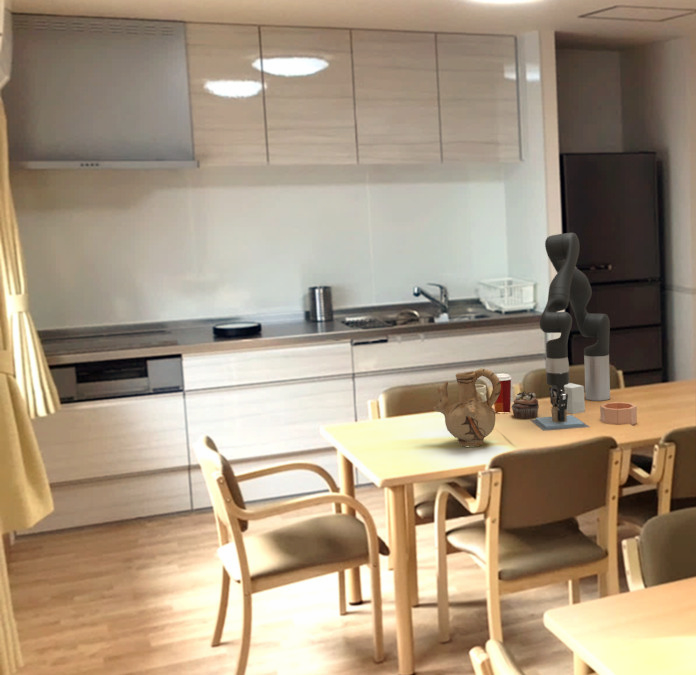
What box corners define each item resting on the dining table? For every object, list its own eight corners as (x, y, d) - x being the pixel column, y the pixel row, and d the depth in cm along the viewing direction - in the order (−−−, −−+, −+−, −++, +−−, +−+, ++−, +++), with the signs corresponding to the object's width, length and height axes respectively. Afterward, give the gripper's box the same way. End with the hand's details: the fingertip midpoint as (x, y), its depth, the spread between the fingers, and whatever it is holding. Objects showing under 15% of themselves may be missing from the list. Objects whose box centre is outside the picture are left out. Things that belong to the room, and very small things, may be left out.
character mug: (493, 423, 304) (492, 387, 303) (475, 425, 302) (474, 389, 301) (479, 417, 315) (478, 382, 313) (462, 419, 313) (460, 385, 311)
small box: (585, 414, 309) (584, 385, 307) (572, 416, 307) (571, 387, 305) (571, 410, 316) (570, 382, 315) (559, 412, 314) (558, 384, 313)
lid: (535, 420, 300) (534, 405, 299) (571, 417, 301) (571, 402, 300) (546, 429, 287) (545, 413, 286) (584, 426, 288) (583, 410, 287)
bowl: (597, 420, 298) (596, 403, 297) (628, 418, 299) (627, 401, 298) (608, 427, 287) (608, 410, 286) (640, 425, 288) (640, 407, 287)
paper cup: (512, 409, 324) (510, 372, 323) (514, 413, 317) (512, 376, 315) (491, 410, 325) (489, 373, 323) (492, 414, 318) (491, 377, 316)
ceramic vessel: (479, 434, 290) (475, 361, 287) (513, 445, 273) (510, 368, 270) (433, 443, 283) (429, 369, 279) (466, 455, 265) (461, 376, 262)
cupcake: (541, 416, 310) (540, 389, 308) (536, 422, 301) (534, 395, 300) (515, 415, 314) (514, 388, 312) (509, 421, 305) (508, 394, 304)
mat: (530, 422, 301) (530, 420, 301) (574, 419, 302) (574, 416, 302) (543, 433, 286) (543, 430, 285) (590, 429, 286) (590, 426, 286)
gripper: (540, 367, 298) (542, 415, 300) (552, 374, 284) (554, 425, 286) (561, 366, 299) (563, 414, 301) (575, 372, 285) (576, 423, 287)
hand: (559, 419), depth 294 cm, fingers closed on lid, 4 cm apart
